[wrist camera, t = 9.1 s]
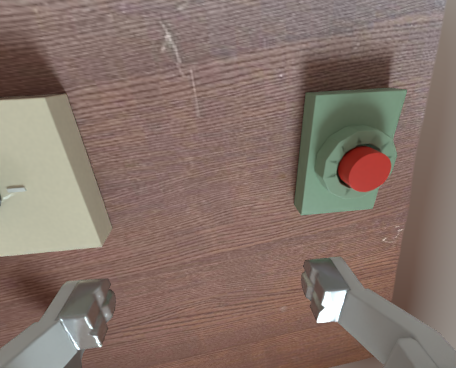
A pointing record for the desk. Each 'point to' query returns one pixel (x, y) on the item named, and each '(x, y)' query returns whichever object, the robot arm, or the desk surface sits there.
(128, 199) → the desk surface
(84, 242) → the stove panel
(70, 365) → the light bulb
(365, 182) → the button
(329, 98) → the box
